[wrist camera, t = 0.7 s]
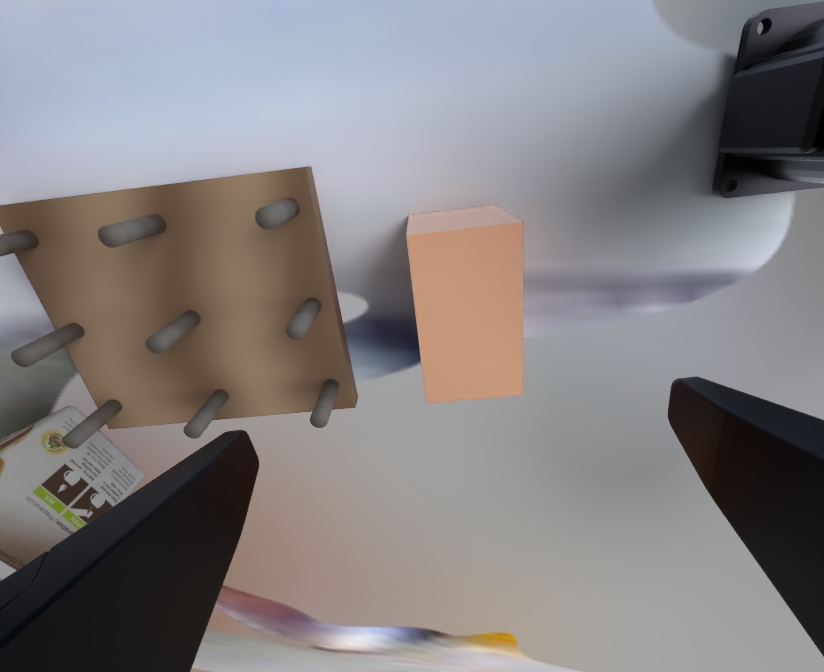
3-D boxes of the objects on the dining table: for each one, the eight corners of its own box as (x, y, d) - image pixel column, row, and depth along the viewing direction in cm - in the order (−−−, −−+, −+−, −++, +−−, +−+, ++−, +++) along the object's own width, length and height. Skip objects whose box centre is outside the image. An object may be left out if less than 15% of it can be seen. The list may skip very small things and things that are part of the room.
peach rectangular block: (496, 204, 18) (523, 221, 13) (499, 342, 21) (522, 395, 16) (408, 214, 18) (406, 235, 14) (424, 349, 21) (426, 403, 17)
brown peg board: (311, 166, 17) (282, 170, 14) (357, 397, 22) (346, 444, 19) (11, 204, 18) (-90, 217, 15) (121, 418, 23) (66, 467, 20)
